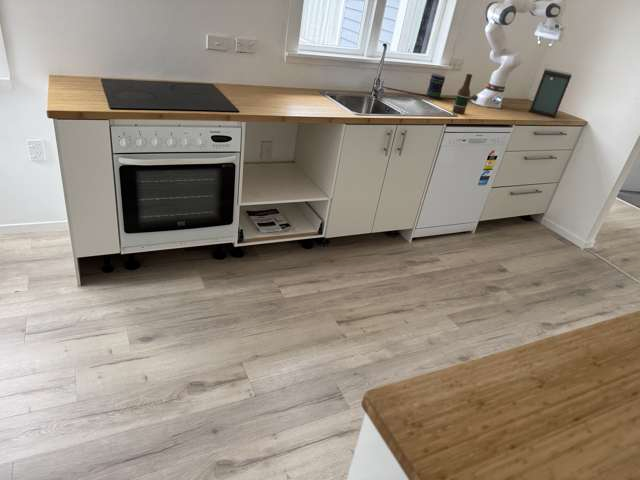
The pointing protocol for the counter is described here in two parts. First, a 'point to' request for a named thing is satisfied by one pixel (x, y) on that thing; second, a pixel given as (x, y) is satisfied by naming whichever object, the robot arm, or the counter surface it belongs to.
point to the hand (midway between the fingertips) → (544, 45)
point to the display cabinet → (540, 83)
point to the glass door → (550, 94)
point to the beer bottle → (462, 96)
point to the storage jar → (435, 86)
